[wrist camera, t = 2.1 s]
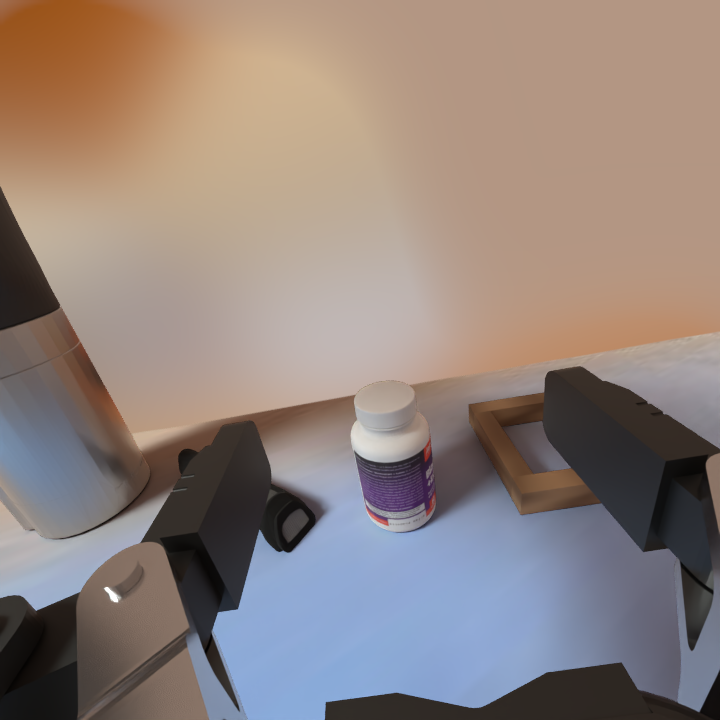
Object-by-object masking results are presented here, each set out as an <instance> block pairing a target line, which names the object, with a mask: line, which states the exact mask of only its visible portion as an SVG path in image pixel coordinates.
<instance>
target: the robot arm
mask: <svg viewBox="0 0 720 720" xmlns="http://www.w3.org/2000/svg"><path fill="white" fill-rule="evenodd" d="M543 426H544V430H545V433H546V436H547V438H548V440H549V442H550V443H551V444H552V445H553V447H554V448H555V449H556V450H557V451H558V452H559V454H560V455H561V456H562V457H563V458H564V460H565V461H566V462H567V463H568V464H569V465H570V467H571V468H572V469H573V470H574V471H575V472H576V474H577V475H578V476H579V477H580V478H581V479H582V481H583V482H584V483H585V484H586V485H587V487H588V488H589V489H590V490H591V491H592V492H593V494H594V495H595V496H596V497H597V498H598V499H599V501H600V502H601V503H602V504H603V505H604V506H605V508H606V509H607V510H608V511H609V512H610V513H611V515H612V516H613V517H614V518H615V519H616V521H617V522H618V523H619V524H620V525H621V526H622V528H623V529H624V530H625V531H626V532H627V533H628V535H629V536H630V537H631V538H632V539H633V540H634V542H635V543H636V544H637V545H638V546H639V548H640V549H641V550H642V551H643V552H646V551H653V550H660V549H667V548H669V549H670V550H671V552H672V553H673V554H674V555H675V556H676V557H677V558H676V562H675V565H674V577H675V589H676V602H677V614H678V627H679V639H680V652H681V675H680V683H679V690H678V702H675V701H673V700H670V699H668V698H665V697H662V696H658V695H655V694H652V693H649V692H645V691H641V690H638V689H637V688H636V686H635V684H634V683H633V681H632V679H631V678H630V676H629V674H628V673H627V671H626V669H625V668H624V666H623V664H622V663H614V664H607V665H600V666H592V667H585V668H577V669H570V670H562V671H555V672H548V673H545V674H543V675H542V676H540V677H538V678H536V679H534V680H532V681H530V682H529V683H527V684H525V685H523V686H521V687H519V688H517V689H516V690H514V691H512V692H510V693H508V694H506V695H504V696H503V697H501V698H499V699H497V700H495V701H493V702H491V703H490V704H488V705H486V706H483V707H481V708H468V707H463V706H458V705H453V704H449V703H444V702H439V701H434V700H429V699H424V698H419V697H415V696H410V695H405V694H400V693H392V694H384V695H377V696H369V697H362V698H354V699H347V700H340V701H332V702H326V710H325V720H720V449H719V448H717V447H716V446H714V445H713V444H711V443H710V442H708V441H707V440H705V439H703V438H702V437H700V436H699V435H697V434H696V433H694V432H693V431H691V430H690V429H688V428H687V427H685V426H684V425H682V424H681V423H679V422H678V421H676V420H675V419H673V418H672V417H670V416H669V415H667V414H665V415H664V414H663V412H662V411H661V410H659V409H658V408H656V407H655V406H653V405H652V404H648V403H647V401H646V400H644V399H643V398H641V397H640V396H638V395H637V394H635V393H634V392H632V391H631V390H629V389H626V388H623V387H621V386H618V385H615V384H612V383H610V382H607V381H602V380H601V379H599V378H598V377H596V376H595V375H593V374H592V373H590V372H589V371H588V370H586V369H585V368H583V367H580V366H578V367H572V368H566V369H560V370H554V371H549V372H548V373H547V375H546V378H545V391H544V408H543ZM149 477H150V468H149V466H148V464H147V462H146V461H145V459H144V457H143V455H142V453H141V451H140V450H139V448H138V446H137V444H136V442H135V440H134V439H133V436H132V435H131V433H130V431H129V429H128V427H127V425H126V424H125V422H124V420H123V418H122V416H121V415H120V413H119V411H118V409H117V407H116V405H115V404H114V402H113V400H112V398H111V396H110V395H109V393H108V391H107V389H106V387H105V385H104V384H103V382H102V380H101V378H100V376H99V375H98V373H97V371H96V369H95V367H94V365H93V363H92V362H91V360H90V358H89V356H88V354H87V353H86V351H85V349H84V347H83V345H82V344H81V342H80V340H79V338H78V337H77V335H76V333H75V331H74V329H73V327H72V326H71V324H70V322H69V320H68V318H67V316H66V315H65V313H64V311H63V309H62V308H61V307H60V304H59V302H58V300H57V298H56V297H55V295H54V293H53V291H52V289H51V288H50V286H49V284H48V281H47V279H46V277H45V275H44V273H43V271H42V269H41V267H40V265H39V263H38V261H37V260H36V257H35V256H34V254H33V252H32V250H31V248H30V246H29V244H28V242H27V241H26V239H25V237H24V235H23V233H22V231H21V229H20V227H19V225H18V223H17V221H16V219H15V217H14V215H13V213H12V211H11V208H10V206H9V204H8V202H7V200H6V198H5V196H4V194H3V191H2V189H1V187H0V500H1V502H2V503H3V504H4V505H5V506H6V508H7V509H8V510H9V511H10V512H11V514H12V515H13V516H14V517H15V518H16V520H17V521H18V522H19V523H20V524H21V526H22V527H23V528H24V529H25V530H31V529H35V530H36V531H37V532H38V534H39V535H40V536H42V537H44V538H49V539H58V538H65V537H69V536H73V535H76V534H79V533H82V532H84V531H86V530H89V529H91V528H93V527H95V526H97V525H99V524H101V523H103V522H105V521H106V520H108V519H109V518H111V517H113V516H114V515H116V514H117V513H119V512H120V511H121V510H122V509H124V508H125V507H126V506H127V505H129V504H130V503H131V502H132V501H133V500H134V499H135V498H136V497H137V496H138V495H139V494H140V492H141V491H142V490H143V489H144V487H145V486H146V484H147V482H148V480H149ZM270 487H271V468H270V464H269V461H268V458H267V455H266V453H265V450H264V447H263V444H262V441H261V439H260V436H259V433H258V430H257V428H256V425H255V424H254V422H253V421H244V422H238V423H232V424H226V425H223V426H222V427H221V429H220V430H219V432H218V434H217V436H216V437H215V439H214V441H213V443H212V445H210V446H206V447H204V448H203V449H202V450H201V451H200V452H199V453H198V454H197V455H196V456H195V457H194V458H193V459H192V460H190V462H189V464H188V465H187V467H186V469H185V470H184V472H183V474H182V475H181V479H179V480H178V482H177V483H176V485H175V487H174V488H173V492H172V493H170V495H169V497H168V498H167V500H166V502H165V503H164V505H163V507H162V508H161V510H160V511H159V513H158V515H157V516H156V518H155V520H154V521H153V523H152V525H151V526H150V528H149V530H148V531H147V533H146V535H145V536H144V538H143V539H142V541H141V543H139V544H136V545H133V546H131V547H128V548H126V549H124V550H122V551H121V552H119V553H117V554H116V555H114V556H113V557H111V558H110V559H109V560H107V561H106V562H105V563H104V564H103V565H101V566H100V567H99V568H98V569H97V570H96V571H95V572H94V573H93V574H92V576H91V577H90V578H89V579H88V581H87V582H86V584H85V585H84V587H83V588H82V590H81V592H79V593H77V594H75V595H72V596H70V597H68V598H65V599H63V600H61V601H58V602H56V603H54V604H51V605H49V606H47V607H44V608H42V609H39V610H37V611H36V610H35V609H34V608H33V607H32V606H31V605H30V604H29V603H28V602H27V601H26V600H25V599H24V597H21V596H16V595H13V596H7V597H3V598H0V720H248V718H247V716H246V713H245V711H244V708H243V706H242V703H241V700H240V698H239V695H238V692H237V690H236V687H235V685H234V682H233V679H232V677H231V674H230V672H229V669H228V666H227V664H226V661H225V659H224V656H223V653H222V651H221V648H220V646H219V643H218V640H217V638H216V635H215V633H214V632H213V630H212V629H213V626H214V623H215V620H216V616H217V613H218V612H223V611H229V610H236V609H238V607H239V603H240V599H241V596H242V592H243V588H244V584H245V581H246V577H247V573H248V569H249V566H250V562H251V558H252V554H253V551H254V547H255V543H256V539H257V536H258V532H259V528H260V525H261V521H262V517H263V513H264V510H265V506H266V502H267V498H268V495H269V491H270Z"/></svg>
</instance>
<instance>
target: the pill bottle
mask: <svg viewBox="0 0 720 720" xmlns="http://www.w3.org/2000/svg"><path fill="white" fill-rule="evenodd" d="M354 405H355V413H356V417H357V420H356V421H355V423H354V425H353V427H352V430H351V443H352V448H353V452H354V457H355V462H356V466H357V471H358V476H359V480H360V485H361V490H362V495H363V499H364V504H365V508H366V511H367V513H368V515H369V517H370V519H371V520H372V521H373V522H374V523H375V524H376V525H378V526H379V527H381V528H383V529H385V530H388V531H392V532H406V531H411V530H414V529H416V528H419V527H420V526H422V525H423V524H425V523H426V522H427V521H428V520H429V519H430V517H431V516H432V514H433V512H434V510H435V506H436V491H435V481H434V470H433V460H432V449H431V439H430V431H429V426H428V423H427V421H426V419H425V418H424V417H423V416H422V415H421V414H420V413H419V412H418V411H417V404H416V396H415V392H414V390H413V388H412V387H411V386H410V385H408V384H406V383H403V382H399V381H381V382H376V383H373V384H370V385H368V386H365V387H364V388H362V389H361V390H360V391H359V392H358V393H357V394H356V395H355V398H354Z"/></svg>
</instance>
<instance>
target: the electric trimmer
mask: <svg viewBox="0 0 720 720" xmlns="http://www.w3.org/2000/svg"><path fill="white" fill-rule="evenodd" d="M197 454H198V452H196V451H194V450H191V449H184V450H182V451H181V452H180V454H179V456H178V462H179V470H180V472H181V474H183V472H184V470H185V469H186V467H187V465H188V464H189V462H190V460H192V459H193V458H194V457H195V456H196V455H197ZM315 520H316V519H315V515H314V514H313V512H312V511H311V510H310V509H309V508H308V507H307V506H306V504H305V503H304V502H303V501H302V500H301V499H299V498H298V497H296V496H294V495H292V494H291V493H289V492H287V491H285V490H283V489H281V488H279V487H277V486H275V485H272V484H271V487H270V491H269V495H268V498H267V502H266V506H265V510H264V513H263V517H262V521H261V525H260V528H259V529H260V530H261V532H262V534H263V536H264V538H265V540H266V541H267V542H268V543H269V544H270V545H271V546H272V547H273V548H274V549H275V550H276V551H278V552H281V551H283V550H284V551H285V552H290V551H292V550H293V549H294V548H295V546H296V545H297V544H298V543H299V542H300V541H301V540H302V538H303V537H304V536H305V535H306V534H307V533H308V532H309V530H310V529H311V528H312V527H313V526H314V524H315Z"/></svg>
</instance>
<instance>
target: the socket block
mask: <svg viewBox="0 0 720 720" xmlns="http://www.w3.org/2000/svg"><path fill="white" fill-rule="evenodd" d="M543 408H544V393H538V394H532V395H526V396H519V397H513V398H507V399H500V400H494V401H488V402H481V403H475V404H469V422H470V424H471V426H472V428H473V429H474V431H475V433H476V435H477V437H478V438H479V440H480V442H481V444H482V446H483V447H484V449H485V451H486V453H487V455H488V456H489V458H490V460H491V462H492V464H493V465H494V467H495V469H496V471H497V473H498V474H499V476H500V478H501V480H502V482H503V484H504V485H505V487H506V489H507V491H508V493H509V494H510V496H511V498H512V500H513V502H514V503H515V505H516V507H517V509H518V511H519V512H520V514H521V515H523V514H530V513H537V512H544V511H551V510H558V509H564V508H571V507H578V506H585V505H592V504H598V503H601V502H600V501H599V499H598V498H597V497H596V496H595V495H594V494H593V492H592V491H591V490H590V489H589V488H588V487H587V485H586V484H585V483H584V482H583V481H582V479H581V478H580V477H579V476H578V475H577V474H576V472H575V471H574V470H573V469H572V468H570V469H564V470H557V471H550V472H544V473H537V474H533V473H532V471H531V470H530V468H529V467H528V465H527V464H526V462H525V461H524V459H523V458H522V456H521V455H520V454H519V452H518V451H517V449H516V448H515V446H514V445H513V443H512V442H511V440H510V439H509V437H508V436H507V434H506V433H505V432H504V430H503V429H502V427H504V426H510V425H516V424H523V423H529V422H536V421H542V420H543Z"/></svg>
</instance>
